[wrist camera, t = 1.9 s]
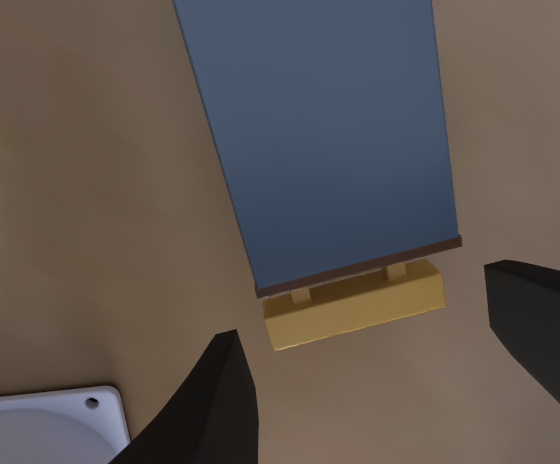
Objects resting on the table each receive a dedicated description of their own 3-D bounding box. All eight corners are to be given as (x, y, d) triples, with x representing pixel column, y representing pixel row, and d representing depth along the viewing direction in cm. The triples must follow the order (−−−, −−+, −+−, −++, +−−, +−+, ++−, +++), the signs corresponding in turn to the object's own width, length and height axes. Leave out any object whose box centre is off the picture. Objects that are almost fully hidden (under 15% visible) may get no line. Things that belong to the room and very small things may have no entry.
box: (404, 263, 16) (481, 343, 11) (267, 298, 16) (278, 396, 11) (348, -82, 13) (422, -211, 7) (171, -36, 13) (118, -132, 7)
